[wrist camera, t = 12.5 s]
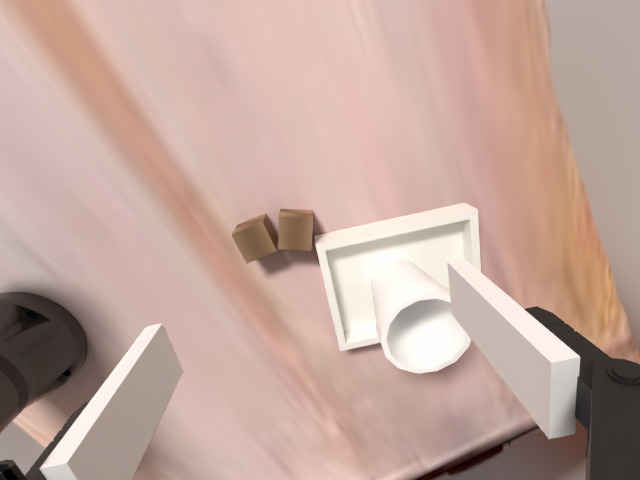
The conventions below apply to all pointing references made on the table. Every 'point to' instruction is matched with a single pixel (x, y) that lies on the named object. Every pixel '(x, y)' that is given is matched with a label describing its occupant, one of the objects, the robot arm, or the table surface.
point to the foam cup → (415, 318)
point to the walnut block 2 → (295, 229)
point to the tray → (383, 242)
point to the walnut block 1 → (256, 238)
